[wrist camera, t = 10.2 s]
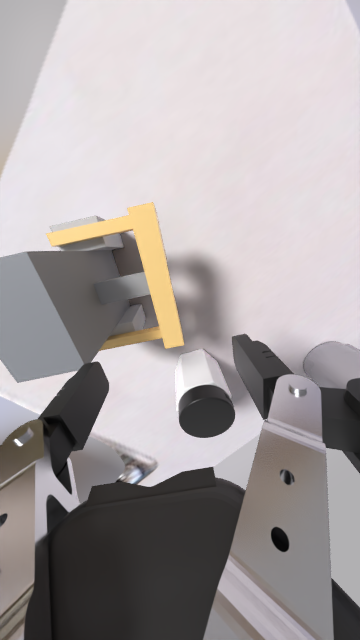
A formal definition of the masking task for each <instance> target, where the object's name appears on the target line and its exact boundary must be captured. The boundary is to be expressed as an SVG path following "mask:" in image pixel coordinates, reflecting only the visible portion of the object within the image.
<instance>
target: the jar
mask: <svg viewBox="0 0 360 640" xmlns="http://www.w3.org/2000/svg"><path fill="white" fill-rule="evenodd" d="M175 386H176V410H177V411H178V412H179V423H180V426H181V428H182V429H183V430H184V431H185V432H186V433H187V434H189V435H191V436H194V437H199V438H208V437H214V436H217V435H219V434H222V433H223V432H225V431H226V430H228V429H229V428H230V427H231V425H232V424H233V422H234V419H235V410H234V408H233V404H232V401H231V398H232V396H231V393H230V391H229V388H228V386H227V384H226V381H225V379H224V376H223V374H222V372H221V369H220V367H219V365H218V362H217V361H216V360H215V359H214V358H213V357H212V356H210V355H209V354H208V353H207V352H206V351H205V350H204V349H200V350H196V351H192V352H188V353H184V354H181V355H180V358H179V361H178V364H177V367H176V371H175Z"/></svg>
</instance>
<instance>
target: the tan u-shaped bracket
mask: <svg viewBox="0 0 360 640" xmlns="http://www.w3.org/2000/svg"><path fill="white" fill-rule="evenodd" d="M127 209H128V212H129V215H128V216H123V217H119V218H114V219H110V220H105V221H101V222H96V223H92V224H87V225H83V226H78V227H74V228H69V229H65V230H60V231H56V232H51V233H47V234H46V235H47V237H48V239H49V241H50V244H51V246H53V247H59V246H64V245H68V244H73V243H77V242H82V241H87V240H91V239H96V238H100V237H105V236H109V235H114V234H119V233H123V232H128V231H132V230H133V231H134V235H135V238H136V242H137V246H138V249H139V253H140V257H141V261H142V264H143V268H144V272H145V275H146V279H147V283H148V286H149V290H150V294H151V298H152V301H153V305H154V309H155V312H156V316H157V320H158V324H159V326H158V327H153V328H148V329H143V330H138V331H133V332H129V333H124V334H119V335H114V336H109V337H108V339H107V340H106V341H105V343H104V344H103V346H102V347H101V349H100V350H99V351H101V350H106V349H110V348H115V347H120V346H125V345H130V344H135V343H140V342H145V341H150V340H155V339H160V338H163V342H164V346H165V349H167V348H172V347H177V346H182V345H184V340H183V333H182V328H181V323H180V318H179V314H178V309H177V305H176V300H175V296H174V293H173V288H172V284H171V279H170V275H169V270H168V265H167V261H166V260H167V258H166V254H165V249H164V244H163V240H162V235H161V230H160V226H159V221H158V216H157V212H156V209H155V206H154V204H153V202H152V203H147V204H143V205H138V206H134V207H129V208H127Z"/></svg>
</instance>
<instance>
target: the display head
mask: <svg viewBox="0 0 360 640" xmlns="http://www.w3.org/2000/svg"><path fill="white" fill-rule="evenodd" d="M101 221H105V220H104V219H102V218H100V217H97V216H92V217H88V218H84V219H79V220H75V221H71V222H66V223H62V224H58V225H54V226H50V229H51V231H52V232H56V231H60V230H65V229H69V228H74V227H78V226H83V225H87V224H92V223H96V222H101ZM123 247H124V245H123V242H122V239H121V236H120V233H119V234H114V235H109V236H105V237H100V238H96V239H91V240H87V241H82V242H77V243H73V244H68V245H64V246H59V249H60V251H33V252H22V253H18V254H14V255H9V256H5V257H1V258H0V360H1V361H2V362H3V364H4V365H5V366H6V368H7V369H8V371H9V372H10V373H11V375H12V376H13V377H14V379H15V380H16V381H17V383H19V382H24V381H29V380H34V379H39V378H44V377H48V376H53V375H58V374H63V373H68V372H73V371H77V370H79V369H80V368H81V367H82V365H84V364H87V363H91V361H92V360H93V359H94V357H95V356H96V354H97V353H98V351H99V350H100V349H101V347H102V346H103V344H104V343H105V341H106V340H107V339H108V337H109V336H114V335H119V334H124V333H129V332H133V331H138V330H143V327H144V324H145V321H146V317H145V314H144V311H143V307H142V304H137V305H133V306H130V304H129V301H128V299H132V298H136V297H141V296H145V295H150V290H149V286H148V283H147V279H146V275H145V272H140V273H135V274H131V275H126V276H122V277H120V274H119V271H118V268H117V265H116V262H115V259H114V256H113V253H112V250H114V249H118V248H123Z"/></svg>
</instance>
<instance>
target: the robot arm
mask: <svg viewBox="0 0 360 640" xmlns="http://www.w3.org/2000/svg"><path fill="white" fill-rule="evenodd" d="M232 345H233V357H234V363H235V366H236V369H237V371H238V373H239V375H240V376H241V378H242V380H243V382H244V384H245V386H246V388H247V390H248V391H249V393H250V395H251V397H252V399H253V401H254V403H255V405H256V407H257V408H258V410H259V412H260V414H261V416H262V418H263V420H265V419H267V421H266V420H265V421H264V423H263V426H262V430H261V434H260V438H259V442H258V445H257V449H256V453H255V457H254V461H253V465H252V468H251V472H250V477H249V480H248V484H247V488H246V490H244V489H243V488H241V487H240V486H238V485H236V484H234V483H232V482H230V481H227V480H224V479H220V478H215V475H214V470H213V467H209V468H203V469H196V470H190V471H184V472H181V473H179V474H177V475H175V476H173V477H171V478H169V479H167V480H165V481H163V482H161V483H159V484H157V485H155V486H152V487H146V486H141V485H136V484H131V483H125V482H116V483H111V484H104V485H98V486H92V488H91V491H90V494H89V497H88V500H87V501H85V502H83V503H82V504H80V503H79V500H78V496H77V491H76V485H75V481H74V475H73V469H72V464H71V460H70V459H69V455H70V453H71V451H77V450H82V449H83V448H84V445H85V443H86V441H87V439H88V436H89V434H90V432H91V430H92V427H93V425H94V423H95V421H96V418H97V416H98V414H99V412H100V409H101V407H102V405H103V403H104V400H105V398H106V396H107V394H108V391H109V382H108V380H107V378H106V375H105V373H104V371H103V369H102V367H101V364H100V363H99V362H92V363H87V364H84V365H82V367H81V368H80V369H79V371H78V372H77V373H76V374H75V375H74V376H73V377H72V378H70V379H69V380H68V381H67V382H66V383H65V385H64V386H63V387H62V390H60V391H59V392H58V394H57V396H55V397H54V399H53V400H52V401H51V402H50V404H49V405H48V406H47V408H46V409H45V410H44V411H43V413H42V414H41V415H40V417H39V418H38V419H36V420H32V421H29V422H27V423H25V424H23V425H21V426H20V427H18V428H17V429H16V430H14V431H13V432H12V433H11V434H10V435H9V436H8V437H7V438H6V439H5V440H4V441H3V443H2V445H0V640H360V607H359V606H358V605H357V604H356V603H355V602H354V601H353V600H352V599H351V598H350V597H349V596H348V595H347V594H346V593H345V592H344V591H343V590H342V588H341V587H340V586H339V585H338V584H337V583H336V582H335V581H334V580H333V579H332V578H331V561H330V537H329V514H328V513H329V512H328V488H327V463H326V448H331V449H337V450H342V451H343V452H344V454H345V455H346V456H347V458H348V459H349V460H350V461H351V463H352V464H353V465H354V467H355V468H356V469H357V470H358V472H359V473H360V350H359V349H357V348H355V347H353V346H352V345H350V344H346V345H344V344H341V343H339V342H326V343H323V344H321V345H319V346H317V347H316V348H314V349H313V350H312V351H311V352H310V353H309V354H308V355H307V357H306V359H305V361H304V371H305V373H306V374H307V375H308V376H309V377H310V378H311V379H312V380H314V381H315V382H316V383H317V384H318V385H319V386H320V387H318V385H317V384H316V383H314V382H313V381H312V380H310V379H308V378H306V377H303V376H300V375H294V374H293V373H292V372H291V370H290V369H289V368H288V367H287V366H286V365H285V364H284V363H283V362H282V361H281V360H280V359H279V358H278V357H277V356H276V355H275V354H274V353H273V352H271V350H270V349H269V348H268V347H267V346H266V345H265V344H263V343H261V342H259V341H252V340H251V339H250V338H249V337H248V336H247V334H242V335H237V336H233V337H232Z"/></svg>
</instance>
